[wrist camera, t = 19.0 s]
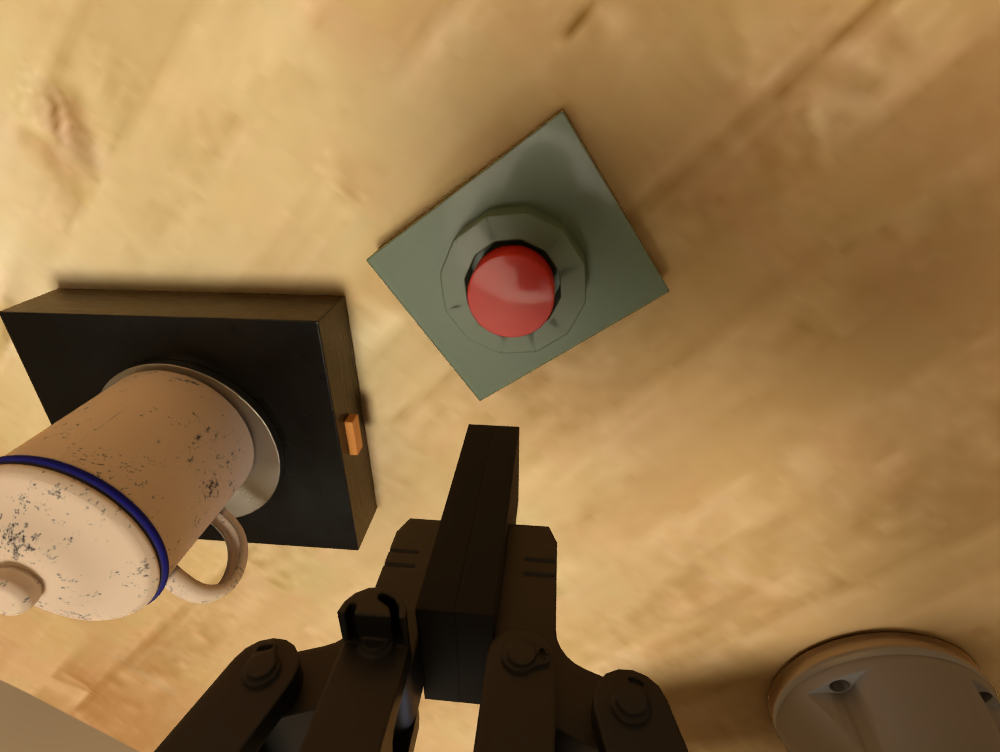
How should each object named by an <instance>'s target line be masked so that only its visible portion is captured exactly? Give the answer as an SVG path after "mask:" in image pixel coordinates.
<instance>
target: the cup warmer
mask: <svg viewBox="0 0 1000 752" xmlns="http://www.w3.org/2000/svg"><path fill="white" fill-rule="evenodd" d="M0 316H1V318H2V320H3V323H4V325H5V327H6V329H7V331H8V333H9V335H10V337H11V340H12V342H13V344H14V346H15V348H16V350H17V352H18V354H19V357H20V359H21V361H22V363H23V365H24V367H25V369H26V372H27V374H28V376H29V378H30V380H31V382H32V384H33V386H34V389H35V391H36V393H37V395H38V397H39V399H40V401H41V403H42V406H43V408H44V410H45V412H46V414H47V416H48V418H49V420H50V423H51V425H53V424H54V423H56V422H57V421H59V420H60V419H62V418H63V417H65V416H66V415H68V414H69V413H71V412H73V411H74V410H76V409H77V408H79V407H80V406H82V405H83V404H85V403H86V402H88V401H89V400H91V399H92V398H94V397H95V396H97V395H99V394H100V393H102V392H103V391H105V390H106V389H108V388H109V387H111V386H112V385H114V384H115V383H117V382H118V381H120V380H122V379H123V378H125V377H127V376H129V375H132V374H135V373H138V372H143V371H152V370H161V371H169V372H175V373H179V374H182V375H186V376H188V377H191V378H193V379H196V380H198V381H200V382H202V383H204V384H206V385H207V386H209V387H211V388H212V389H214V390H215V391H216V392H218V393H219V394H220V395H222V396H223V397H224V398H225V399H226V400H227V401H228V402H229V403H230V404H231V405H232V406H233V407H234V408H235V409H236V410H237V412H238V413H239V414H240V416H241V417H242V419H243V420H244V422H245V424H246V426H247V428H248V430H249V433H250V435H251V438H252V442H253V447H254V459H253V465H252V468H251V471H250V473H249V475H248V477H247V478H246V480H245V481H244V483H243V484H242V485H241V486H240V488H239V489H238V490H237V491H236V492H235V494H234V495H233V496H232V497H231V499H230V500H229V501H228V502H227V504H226V505H225V506H224V507H225V508H226V509H227V510H228V511H229V512H230V513H231V514H232V515H233V516H234V517H235V518H236V519H237V520H238V522H239V523H240V524H241V526H242V528H243V530H244V532H245V535H246V538H247V543H261V544H275V545H290V546H304V547H319V548H333V549H348V550H359V548H360V545H361V543H362V541H363V539H364V536H365V534H366V532H367V529H368V527H369V525H370V523H371V520H372V518H373V516H374V514H375V511H376V509H377V508H376V502H375V495H374V488H373V482H372V475H371V468H370V461H369V455H368V448H367V441H366V435H365V428H364V421H363V415H362V408H361V401H360V395H359V388H358V381H357V375H356V368H355V361H354V355H353V348H352V341H351V335H350V328H349V321H348V315H347V308H346V301H345V296H332V295H292V294H253V293H213V292H173V291H133V290H94V289H56V290H53V291H51V292H48V293H46V294H43V295H41V296H38V297H35V298H33V299H30V300H28V301H25V302H23V303H20V304H18V305H15V306H12V307H10V308H7V309H5V310H2V311H0ZM198 539H203V540H218V541H225V540H224V538H223V537H222V535H221V534H220V533H219V531H218V530H217V529H216V528H215V527H214V526H213V525H212V524H209V526H208V527H207V528H206V529H205V531H204V532H203V533H202V534H201V536H200V537H199V538H198Z"/></svg>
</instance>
